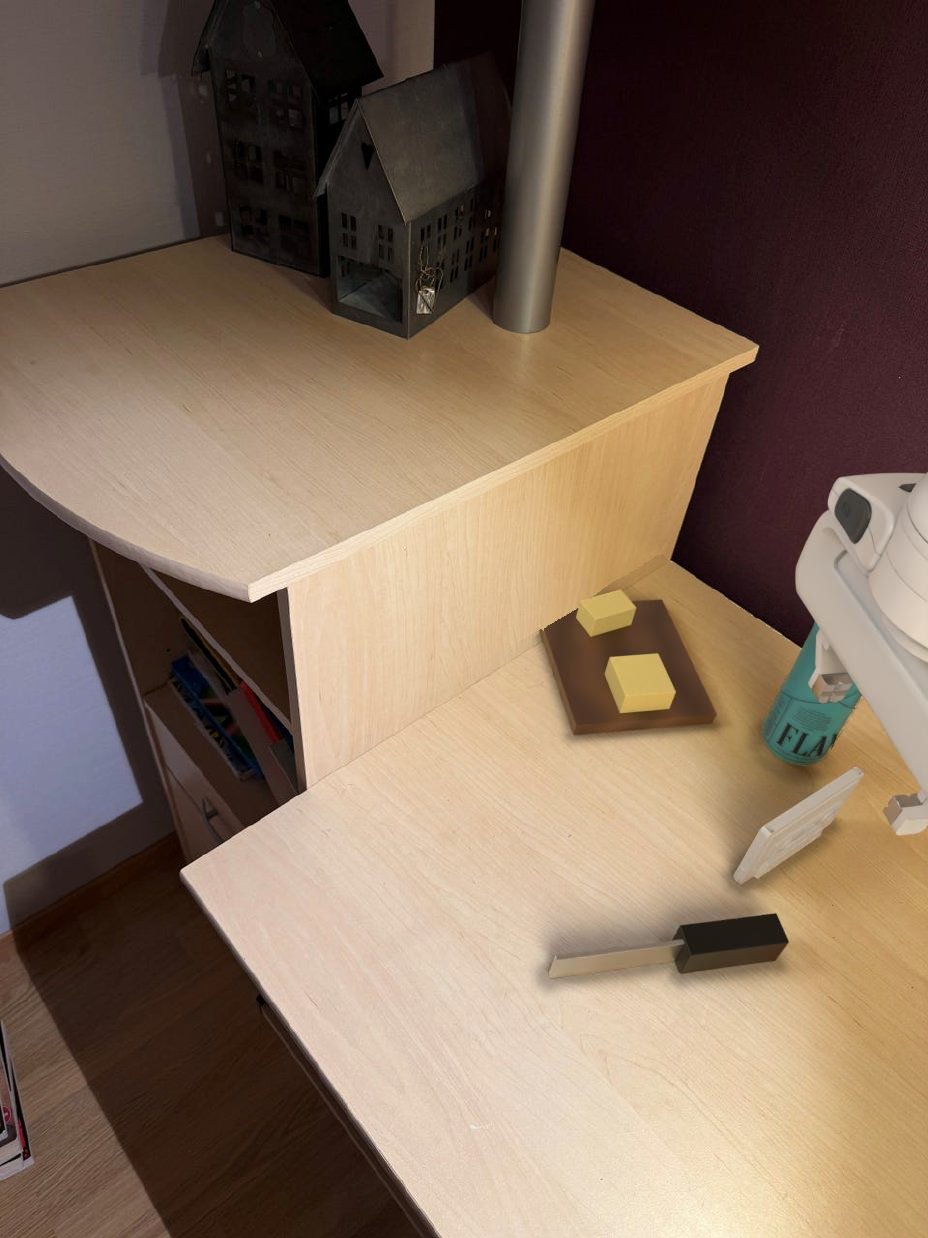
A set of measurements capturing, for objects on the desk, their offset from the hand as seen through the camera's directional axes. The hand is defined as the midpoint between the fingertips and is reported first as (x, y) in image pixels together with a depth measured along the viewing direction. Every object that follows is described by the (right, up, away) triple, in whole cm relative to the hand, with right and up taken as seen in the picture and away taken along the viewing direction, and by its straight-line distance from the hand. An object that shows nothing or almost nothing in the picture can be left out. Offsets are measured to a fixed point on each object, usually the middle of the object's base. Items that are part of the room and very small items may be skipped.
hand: (859, 755), depth 53 cm
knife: (-7, -18, +16) cm, 26 cm away
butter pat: (-9, +8, +41) cm, 42 cm away
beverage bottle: (+7, -4, +33) cm, 34 cm away
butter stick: (-7, +1, +34) cm, 35 cm away
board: (-8, +3, +38) cm, 39 cm away
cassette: (+4, -12, +25) cm, 28 cm away
